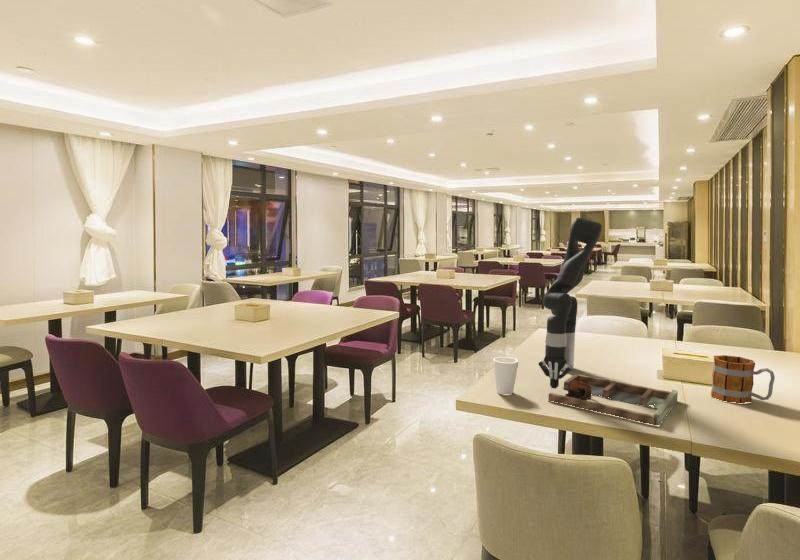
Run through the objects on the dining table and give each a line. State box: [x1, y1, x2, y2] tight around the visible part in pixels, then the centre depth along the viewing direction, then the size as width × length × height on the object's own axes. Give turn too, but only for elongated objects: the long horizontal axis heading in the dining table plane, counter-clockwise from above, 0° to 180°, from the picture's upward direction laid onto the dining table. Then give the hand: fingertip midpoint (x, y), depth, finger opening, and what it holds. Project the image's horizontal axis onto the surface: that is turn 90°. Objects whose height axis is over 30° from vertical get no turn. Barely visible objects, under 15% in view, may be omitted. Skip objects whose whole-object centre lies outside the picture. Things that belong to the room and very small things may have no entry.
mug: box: [710, 354, 776, 403], centre depth 182 cm, size 20×14×15 cm
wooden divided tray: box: [548, 374, 678, 426], centre depth 180 cm, size 38×31×4 cm
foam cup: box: [492, 356, 519, 395], centre depth 189 cm, size 10×9×13 cm
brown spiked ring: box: [564, 380, 593, 401], centre depth 181 cm, size 12×10×8 cm
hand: (554, 387), depth 188 cm, fingers closed
